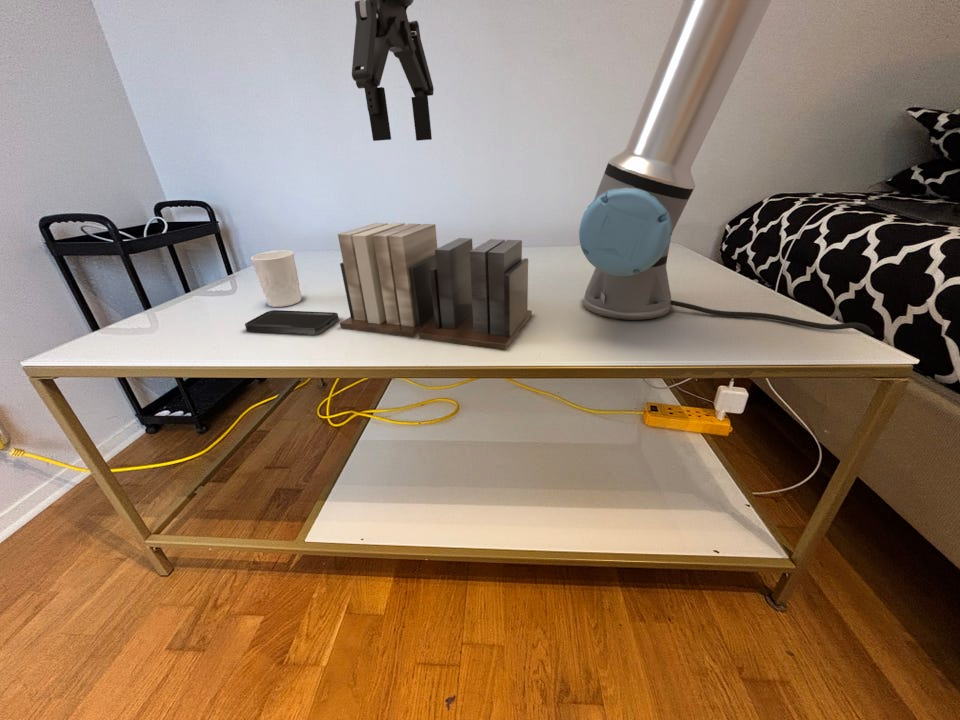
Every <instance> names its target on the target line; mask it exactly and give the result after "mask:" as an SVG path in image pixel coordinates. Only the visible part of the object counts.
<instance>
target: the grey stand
mask: <svg viewBox="0 0 960 720" xmlns="http://www.w3.org/2000/svg"><path fill="white" fill-rule="evenodd" d="M473 247H474V246H473V238H469V237H467V238H466V237H458V238H456V239H454V240H452V241H450V242H447V243H445V244H444V245H442V246H439V247H437V249H435V258H436V266H435V267H433V268H432V269H430V278H431V288H432V298H433V308H434V318H435V321H434V322H432V323H431V324H430V325H429V326H427V327H426V328H425V329H423V330H422V331H421V332H420V333H419V334H418V338H419V340H421V339H422V340H429V341H436V342H442V343H451V344H457V345H466V346H473V347H478V348H479V347H480V348H487V349H493V350H501V351H506V350H507V349H508V347H509V346H510V345H511V343H512V342H513V341H514V340H515V338H516V337H517V335H519V333H520V332H521V330H522V329H523V328H524V326H525V325H526V323H527V322H528V321H529V320H530V318H531V317H532V315H533V310H531V309H528V306H529V304H528V300H529V299H528V297H529V296H528V295H529V258H526V257H523V240H522V239H506V240H505V239H499V238H497V239H496V238H490V239H489V240H487V241H485V242H483V243H482V244H480V245H478V246H477V247H474V248H473Z"/></svg>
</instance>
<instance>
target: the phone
mask: <svg viewBox="0 0 960 720" xmlns="http://www.w3.org/2000/svg"><path fill="white" fill-rule="evenodd" d="M339 320H340V318H339V313H338V312H331V311H330V312H327V311H303V310H283V309H281V310H280V309H272V310H268V311H266V312H264V313H262V314H260V315H258V316H256V317H254V318H253V319H251V320H249V321H247V322H245V323H244V326H245V330H246V332H252V333H253V332H255V333H273V334H289V335H291V334H292V335H310V336H316V335H319V334H322V333H323V332H325V331H326V330H328V329H329V328H331V326H333V325H335V324H336V323H337V322H339Z"/></svg>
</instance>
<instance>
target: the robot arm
mask: <svg viewBox="0 0 960 720" xmlns="http://www.w3.org/2000/svg"><path fill="white" fill-rule="evenodd" d="M771 2H772V0H682V3H681V6H680V7H679V10H678V13H677V16H676V18H675V21H674V23H673V26H672V29H671V31H670V34H669V35H668V39H667V42H666V44H665V46H664V49H663V51H662V54H661V57H660V59H659V62H658V64H657V67H656V69H655V72H654V75H653V77H652V80H651V82H650V84H649V88H648V90H647V92H646V95H645V98H644V101H643V102H642V105H641V108H640V111H639V113H638V116H637V118H636V120H635V122H634V123H635V124H634V126H633V129H632V131H631V133H630V137H629V139H628V140H627V141H628V142H627V144H626V147H625V149H624V150H622V152H621V151H620V152H619V153H618V154H616V155H614V156H613V157H611V158H609V160H608V162H607V165H606V167H605V170H604V172H603V175H602V177H601V180H600V183H599V185H598V188H597V191H596V193H595V196H594V198H593V199H592V202H590V204H589V205H588V206H587V207H586V209H585V210H584V212H583V214H582V217H581V220H580V225H579V229H578V230H579V231H578V239H579V241H578V242H579V244H580V248H581V251H582V253H583V255H584V257H585V259H586V260H587V262H589V264H591V265H592V266H593V267H594V271H593V273H592V276H591V278H590V280H589V281H588V282H589V283H588V285H587V286H586V290H585V293H584V298H583V306H584V308H586V309H587V310H588V311H590V312H592V313H594V314H596V315H599V316H603V317H606V318H609V319H616V320H625V321H626V320H627V321H644V320H653V319H657V318H660V317H663V316H664V315H665V316H666V315H667V314H668V313H669V312H670V310H671V306H674V307H678V308H682V309H686V310H687V309H688V310H692V311H696V312H699V313H703V314H704V313H705V314H707V315H713V316H721V317H732V318H734V317H735V318H737V317H738V318H754V319H755V318H756V319H764V320H765V319H766V320H771V321H779V322H783V323H789V324H793V325H797V326H802V327H807V328H812V329H819V330H827V331H838V330H847V329H858V330H860V331H862V332H863V333H864V334H865V335H873V336H874V335H875V332H874V331H873V329H871V327H870V326H868V325H866V324H864V323H860V322H843V323H834V324H833V323H832V324H830V323H820V322H815V321H809V320H805V319H800V318H799V319H798V318H794V317H789V316H785V315H778V314H773V313H765V312H764V313H763V312H755V311H754V312H753V311H731V310H730V311H728V310H718V309H712V308H707V307H703V306H699V305H696V304H691V303H688V302H687V303H686V302H682V301H677V300H673V299H672V294H671V288H670V282H669V275H668V271H667V263H668V256H669V252H670V245H671V239H672V236H673V232H674V230H675V228H676V226H677V224H678V222H679V220H680V218H681V216H682V214H683V212H684V210H685V208H686V205H687V204H688V202H689V200H690V198H691V196H692V193H693V192H694V189H695V188H696V183H695V180H694V178H693V175H692V166H693V164H694V162H695V160H696V158H697V156H698V154H699V151H700V149H701V148H702V145H703V143H704V141H705V140H706V137H707V135H708V133H709V131H710V129H711V127H712V125H713V123H714V120H715V118H716V116H717V114H718V112H719V111H720V108H721V106H722V104H723V102H724V99H725V97H726V96H727V94H728V91H729V89H730V87H731V85H732V83H733V81H734V79H735V77H736V74H737V72H738V70H739V69H740V66H741V64H742V63H743V61H744V59H745V56H746V54H747V52H748V50H749V48H750V45H751V44H752V41H753V39H754V38H755V35H756V33H757V31H758V29H759V27H760V25H761V23H762V20H763V18H764V16H765V15H766V12H767V11H768V8H769V6H770V5H771ZM413 3H414V0H356V1H355V2H354V11H355V19H356V20H355V21H356V22H355V31H354V32H355V33H354V42H353V44H354V45H353V53H352V65H351V66H352V67H351V77H352V80H353V81H354V82H355V86H356V87H357V89H359V90H360V89H364V94H365V101H366V107H367V112H368V117H369V123H370V129H371V136H372V141H373V142H379V141H391V140H392V134H391V127H390V120H389V112H388V111H389V110H388V104H387V98H386V89H385V87H383V86H380V85H381V82H382V77H383V74H384V71H385V67H386V63H387V60H388V56H389V52H391V53H392V54H393V56H394V57H395V58H397V59H398V60H399V63H400V65H401V68H402V70H403V72H404V75H405V77H406V80H407V82H408V84H409V87H410V88H411V91H412V94H413V96H411V105H412V106H411V107H412V115H413V123H414V124H413V125H414V130H415V131H414V133H415V141H429V140H433V138H432V137H433V136H432V127H431V118H430V117H431V116H430V107H429V97H430V96H433V95H434V90H435V89H434V85H433V81H432V77H431V73H430V69H429V66H428V60H427V58H426V54H425V51H424V50H425V49H424V47H423V42H422V39H421V31H420V30H421V29H420V24H419V21H418V20H411V21H409V18H408V14H407V11H408V10H407V9H408V8H409V7H410V6H411V5H412V4H413ZM362 67H363V68H362Z"/></svg>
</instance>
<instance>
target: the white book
mask: <svg viewBox="0 0 960 720" xmlns="http://www.w3.org/2000/svg"><path fill="white" fill-rule="evenodd" d="M403 225H406V223H405V222H391V223H388V224H387V225H384V226H381V227H378V228H375V229H371V230H368V231H365V232H362V233H358V234H355V235H352V236H353V241H354V247H355V253H356V258H357V264H358V269H359V275H360V280H361V286H362V291H363V297H364V302H365V308H366V313H367V319H368V323H376V324H381V323H382V322H384V321H385V320H386V314H385V308H384V302H383V295H382V289H381V283H380V276H379V270H378V264H377V257H376V251H375V245H374V238H373V235H376V234H379V233H382V232H385V231H388V230H391V229H394V228H397V227H400V226H403Z"/></svg>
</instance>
